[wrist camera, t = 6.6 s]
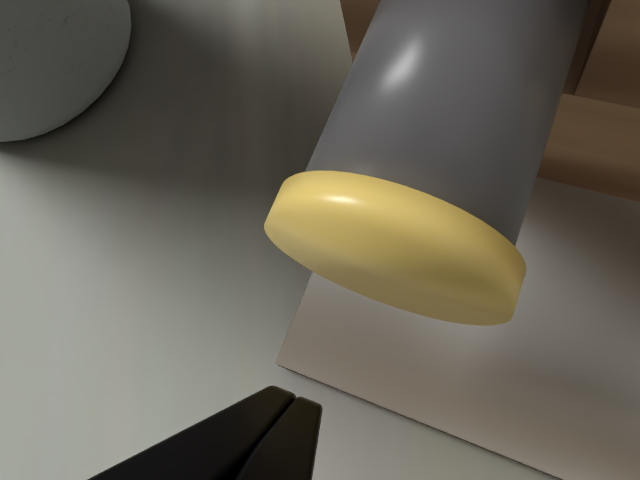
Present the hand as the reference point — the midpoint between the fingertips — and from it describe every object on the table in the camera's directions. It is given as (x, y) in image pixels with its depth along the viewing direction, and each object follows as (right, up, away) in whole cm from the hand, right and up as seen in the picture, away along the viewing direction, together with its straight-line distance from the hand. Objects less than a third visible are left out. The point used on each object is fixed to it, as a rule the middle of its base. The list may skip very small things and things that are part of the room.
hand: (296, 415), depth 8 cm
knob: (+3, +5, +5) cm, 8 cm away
